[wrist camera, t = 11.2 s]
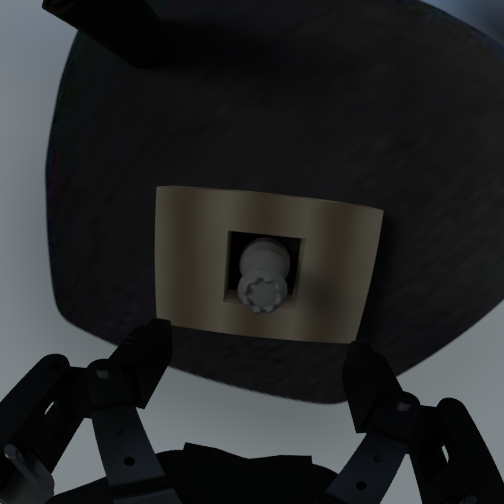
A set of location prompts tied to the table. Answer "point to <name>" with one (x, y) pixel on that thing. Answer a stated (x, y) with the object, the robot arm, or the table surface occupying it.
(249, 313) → the socket board
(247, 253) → the rook chess piece
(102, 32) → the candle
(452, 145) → the table surface
